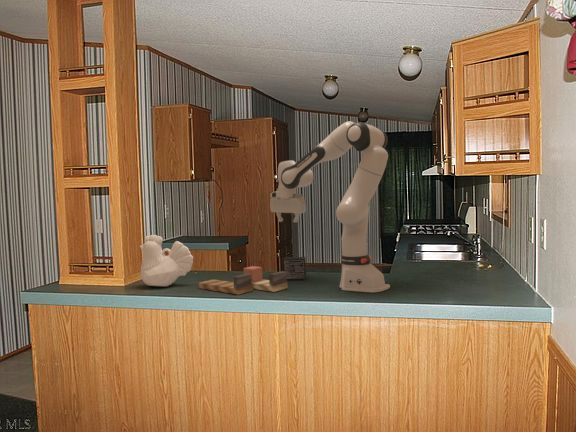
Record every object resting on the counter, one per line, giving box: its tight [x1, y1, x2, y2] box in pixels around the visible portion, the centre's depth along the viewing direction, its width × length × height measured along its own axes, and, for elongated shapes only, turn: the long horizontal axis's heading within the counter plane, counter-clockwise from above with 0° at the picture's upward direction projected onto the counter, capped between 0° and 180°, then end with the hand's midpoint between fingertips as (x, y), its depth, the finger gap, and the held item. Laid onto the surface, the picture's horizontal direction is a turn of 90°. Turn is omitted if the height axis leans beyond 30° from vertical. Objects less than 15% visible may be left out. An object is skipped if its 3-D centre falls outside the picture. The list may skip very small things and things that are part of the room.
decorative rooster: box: [139, 234, 194, 287], centre depth 266 cm, size 25×16×25 cm, turn 77°
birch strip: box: [232, 270, 289, 293], centre depth 255 cm, size 26×9×8 cm, turn 49°
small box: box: [282, 256, 307, 281], centre depth 271 cm, size 11×6×10 cm, turn 84°
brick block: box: [242, 265, 263, 282], centre depth 257 cm, size 6×6×6 cm
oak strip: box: [198, 273, 254, 295], centre depth 253 cm, size 26×9×8 cm, turn 49°
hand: (288, 222), depth 273 cm, fingers open, 8 cm apart
